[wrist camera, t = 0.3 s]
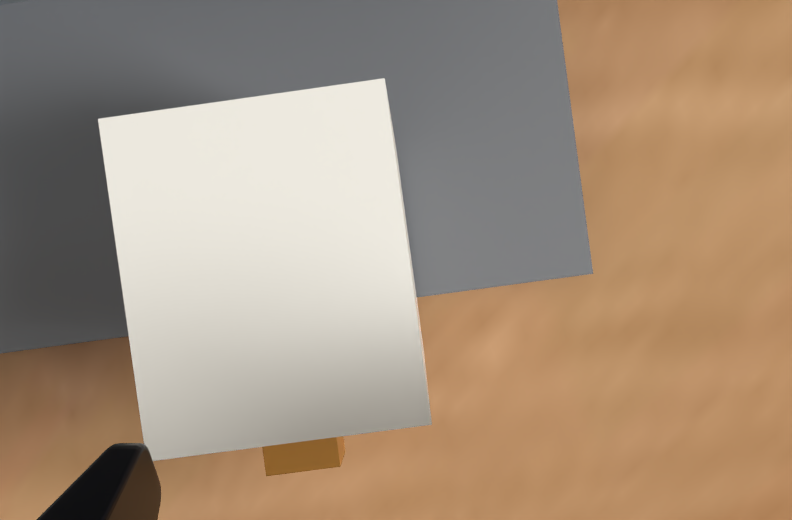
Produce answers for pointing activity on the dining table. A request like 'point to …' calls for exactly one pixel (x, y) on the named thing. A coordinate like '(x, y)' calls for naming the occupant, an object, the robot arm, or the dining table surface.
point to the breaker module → (267, 274)
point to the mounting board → (276, 73)
